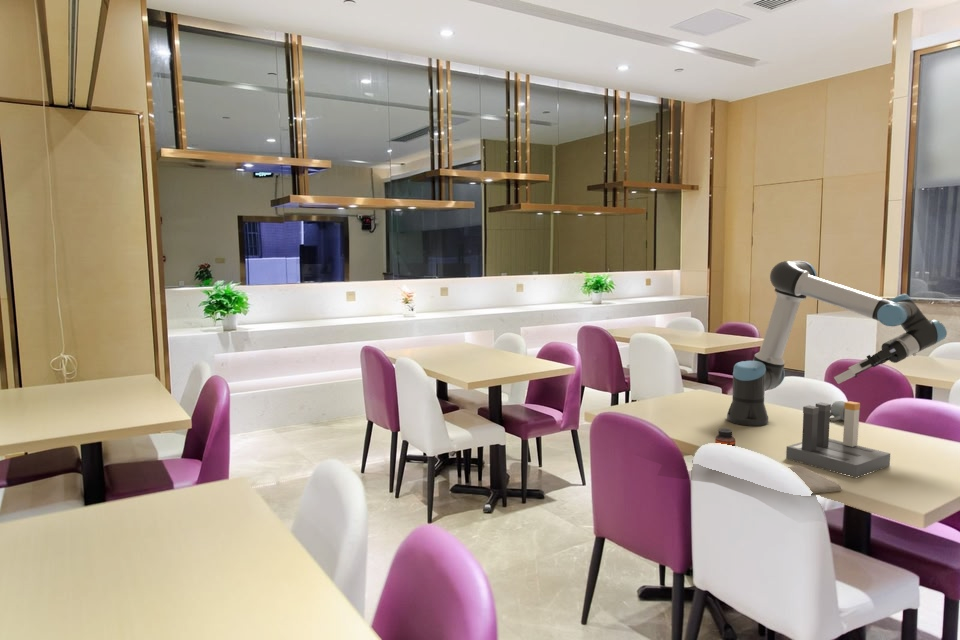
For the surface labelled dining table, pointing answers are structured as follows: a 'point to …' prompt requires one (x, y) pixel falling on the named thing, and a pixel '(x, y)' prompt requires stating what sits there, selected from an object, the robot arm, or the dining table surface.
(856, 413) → the handle
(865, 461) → the grey peg stand
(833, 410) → the ceramic mug
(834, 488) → the washcloth
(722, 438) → the supplement bottle
